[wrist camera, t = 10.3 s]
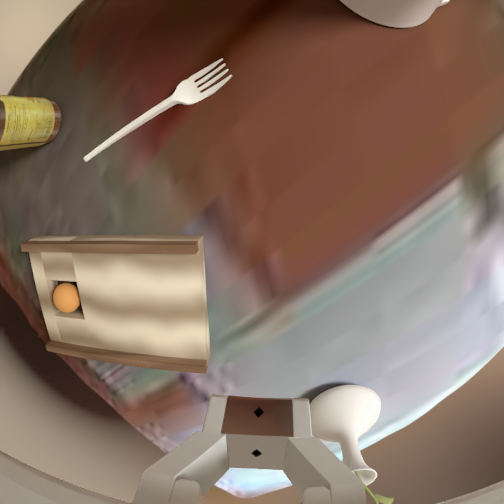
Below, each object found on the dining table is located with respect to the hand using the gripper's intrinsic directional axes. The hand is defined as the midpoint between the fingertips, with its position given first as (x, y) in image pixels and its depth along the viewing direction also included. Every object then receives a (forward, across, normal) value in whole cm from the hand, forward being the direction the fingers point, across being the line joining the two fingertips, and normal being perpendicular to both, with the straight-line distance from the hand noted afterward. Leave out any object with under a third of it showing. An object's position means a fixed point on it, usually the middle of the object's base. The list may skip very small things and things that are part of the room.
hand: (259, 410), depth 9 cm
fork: (+28, +14, -11) cm, 33 cm away
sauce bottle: (+28, +29, -12) cm, 42 cm away
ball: (+24, +26, +10) cm, 38 cm away
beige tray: (+26, +20, +10) cm, 35 cm away
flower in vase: (+26, -12, +28) cm, 40 cm away
